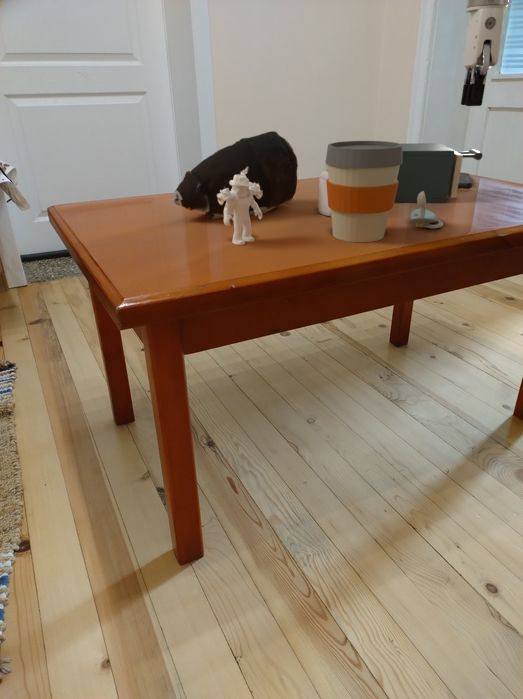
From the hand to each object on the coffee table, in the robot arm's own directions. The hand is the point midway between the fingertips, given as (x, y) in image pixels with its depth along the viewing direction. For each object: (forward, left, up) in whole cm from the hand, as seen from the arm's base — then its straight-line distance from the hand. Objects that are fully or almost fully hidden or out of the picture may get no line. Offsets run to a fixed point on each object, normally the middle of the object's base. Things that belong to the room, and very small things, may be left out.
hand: (471, 104), depth 108 cm
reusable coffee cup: (+25, +34, -19) cm, 46 cm away
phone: (-3, -18, -19) cm, 27 cm away
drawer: (+6, 0, -18) cm, 19 cm away
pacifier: (+12, +27, -19) cm, 35 cm away
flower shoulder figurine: (+45, +39, -19) cm, 62 cm away
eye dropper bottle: (+30, +18, -19) cm, 40 cm away
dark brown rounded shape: (+50, +18, -19) cm, 56 cm away
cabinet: (+12, 0, -19) cm, 22 cm away
